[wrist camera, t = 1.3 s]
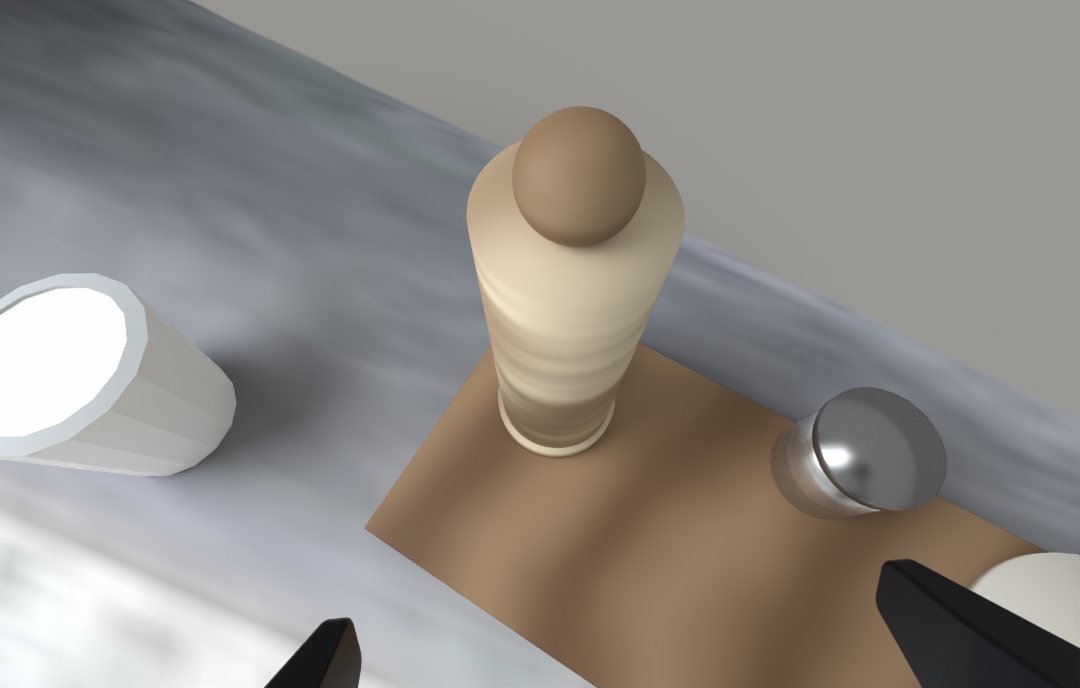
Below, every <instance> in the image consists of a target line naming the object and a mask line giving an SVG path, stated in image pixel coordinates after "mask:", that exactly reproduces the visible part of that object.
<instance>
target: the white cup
mask: <svg viewBox="0 0 1080 688" xmlns="http://www.w3.org/2000/svg"><path fill="white" fill-rule="evenodd" d="M236 405H237V402H236V396H235V391H234V386H233V383H232V381H231V380H230V379H229V378H228V377H227V375H226V374H225V373H224V372H223V371H222V369H221V368H220V367H219V366H217V365H216V364H215V363H214V362H213V361H212V360H211V359H210V358H208V357H207V356H206V355H205V354H204V353H203V352H202V351H200V350H199V349H198V348H197V347H196V346H195V345H194V344H193V343H191V342H190V341H189V340H188V339H187V338H186V337H185V336H183V335H182V334H181V333H180V332H179V331H178V330H177V329H176V328H174V327H173V326H172V325H171V324H170V323H169V322H168V321H167V320H165V319H164V318H163V317H162V316H161V315H160V314H159V313H157V312H156V311H155V310H154V309H153V308H152V307H151V306H150V305H148V304H147V303H146V302H145V301H144V300H143V299H142V298H140V297H139V296H138V295H137V294H136V293H135V292H134V291H133V290H131V289H130V288H129V287H128V286H127V285H125V284H123V283H120V282H118V281H115V280H112V279H110V278H107V277H105V276H102V275H100V274H97V273H87V274H58V275H55V276H52V277H49V278H46V279H42V280H39V281H36V282H33V283H30V284H26V285H23V286H20V287H19V288H17V289H16V290H14V291H12V292H11V293H9V294H8V295H6V296H4V297H3V298H1V299H0V459H1V460H10V461H18V462H27V463H35V464H44V465H52V466H61V467H69V468H77V469H86V470H94V471H103V472H111V473H120V474H128V475H137V476H170V475H173V474H176V473H178V472H181V471H183V470H186V469H188V468H191V467H194V466H195V465H197V464H198V463H199V462H200V461H202V460H203V459H204V458H205V457H207V456H208V455H209V454H210V453H212V452H213V451H214V450H215V449H216V448H217V447H218V446H219V444H220V443H221V441H222V440H223V438H224V437H225V435H226V434H227V432H228V431H229V429H230V427H231V425H232V421H233V417H234V413H235V409H236Z"/></svg>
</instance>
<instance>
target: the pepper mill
mask: <svg viewBox="0 0 1080 688" xmlns="http://www.w3.org/2000/svg"><path fill="white" fill-rule="evenodd" d="M467 224H468V231H469V236H470V241H471V246H472V251H473V256H474V261H475V266H476V271H477V276H478V281H479V286H480V291H481V296H482V301H483V306H484V311H485V316H486V321H487V326H488V331H489V336H490V341H491V346H492V351H493V356H494V361H495V366H496V371H497V376H498V381H499V389H498V404H499V410H500V414H501V418H502V421H503V423H504V426H505V428H506V430H507V431H508V433H509V434H510V436H511V437H512V438H513V439H514V440H515V441H516V442H517V443H518V444H519V445H520V446H521V447H523V448H524V449H526V450H527V451H529V452H531V453H533V454H536V455H539V456H542V457H547V458H566V457H571V456H574V455H577V454H580V453H582V452H584V451H586V450H587V449H589V448H590V447H592V446H593V445H594V444H595V443H596V442H597V441H598V440H599V439H600V438H601V437H602V435H603V434H604V432H605V430H606V428H607V426H608V424H609V422H610V420H611V418H612V415H613V412H614V407H615V396H616V394H617V391H618V389H619V387H620V384H621V382H622V380H623V377H624V375H625V373H626V370H627V368H628V366H629V363H630V361H631V359H632V356H633V354H634V352H635V349H636V347H637V345H638V342H639V340H640V338H641V335H642V333H643V331H644V328H645V326H646V324H647V321H648V319H649V317H650V314H651V312H652V310H653V307H654V305H655V303H656V300H657V298H658V296H659V293H660V291H661V289H662V286H663V284H664V282H665V279H666V277H667V275H668V272H669V270H670V268H671V265H672V263H673V261H674V258H675V256H676V254H677V251H678V249H679V246H680V243H681V240H682V237H683V231H684V209H683V204H682V200H681V197H680V194H679V192H678V190H677V188H676V186H675V184H674V182H673V180H672V179H671V178H670V176H669V175H668V173H667V172H666V171H665V170H664V169H663V167H662V166H661V165H660V164H659V163H658V162H657V161H656V160H654V159H653V158H652V157H651V156H650V155H648V154H647V153H646V152H644V151H643V150H641V147H640V145H639V143H638V141H637V139H636V138H635V136H634V135H633V133H632V132H631V131H630V129H629V128H628V127H627V126H626V125H625V124H624V123H623V122H622V121H620V120H619V119H618V118H617V117H615V116H613V115H612V114H610V113H608V112H605V111H603V110H600V109H596V108H591V107H570V108H565V109H561V110H558V111H556V112H554V113H551V114H550V115H548V116H546V117H545V118H543V119H542V120H540V121H539V122H538V123H537V124H536V125H535V126H534V127H533V128H532V129H531V130H530V131H529V132H528V133H527V135H526V136H525V137H524V139H523V140H521V141H519V142H517V143H515V144H513V145H511V146H510V147H508V148H506V149H504V150H503V151H502V152H501V153H499V154H498V155H497V156H495V157H494V158H493V159H492V160H491V161H490V162H489V163H488V164H487V165H486V166H485V167H484V169H483V170H482V171H481V173H480V174H479V176H478V177H477V179H476V181H475V183H474V184H473V187H472V190H471V192H470V195H469V200H468V204H467Z"/></svg>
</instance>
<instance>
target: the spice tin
mask: <svg viewBox="0 0 1080 688" xmlns="http://www.w3.org/2000/svg"><path fill="white" fill-rule="evenodd" d="M770 465H771V471H772V475H773V478H774V481H775V483H776V485H777V487H778V489H779V490H780V492H781V493H782V495H783V496H784V497H785V498H786V499H787V500H788V501H789V502H790V503H791V504H792V505H793V506H794V507H795V508H797V509H798V510H800V511H801V512H803V513H805V514H807V515H810V516H812V517H815V518H819V519H826V520H834V519H840V518H846V517H851V516H856V515H861V514H866V513H872V512H877V511H899V510H904V509H910V508H914V507H917V506H921V505H922V504H924V503H926V502H928V501H929V500H930V499H932V498H933V497H934V496H935V495H936V494H937V493H938V491H939V490H940V488H941V486H942V484H943V481H944V479H945V474H946V455H945V450H944V447H943V444H942V441H941V439H940V437H939V435H938V432H937V431H936V429H935V428H934V426H933V425H932V423H931V422H930V421H929V419H928V418H927V417H926V416H925V415H924V414H923V413H922V412H921V411H920V410H919V409H918V408H917V407H915V406H914V405H913V404H911V403H910V402H909V401H907V400H906V399H904V398H902V397H900V396H898V395H896V394H894V393H891V392H888V391H885V390H882V389H877V388H855V389H851V390H847V391H845V392H843V393H841V394H839V395H837V396H836V397H834V398H832V399H831V400H830V401H828V402H827V403H826V404H825V405H824V406H823V407H822V408H821V409H820V410H818V411H816V412H815V413H813V414H811V415H810V416H808V417H806V418H805V419H803V420H801V421H799V422H798V423H796V424H794V425H793V426H791V427H789V428H788V429H786V430H785V431H783V432H782V433H781V434H780V435H779V436H778V438H777V439H776V441H775V443H774V445H773V447H772V450H771V456H770Z"/></svg>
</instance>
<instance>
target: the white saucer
mask: <svg viewBox="0 0 1080 688" xmlns="http://www.w3.org/2000/svg"><path fill="white" fill-rule="evenodd" d="M967 589H969V590H971V591H973V592H975V593H977V594H979V595H981V596H983V597H984V598H986V599H988V600H990V601H992V602H994V603H996V604H998V605H1000V606H1001V607H1003V608H1005V609H1007V610H1009V611H1011V612H1013V613H1015V614H1017V615H1018V616H1020V617H1022V618H1024V619H1026V620H1028V621H1030V622H1032V623H1034V624H1036V625H1037V626H1039V627H1041V628H1043V629H1045V630H1047V631H1049V632H1051V633H1053V634H1054V635H1056V636H1058V637H1060V638H1062V639H1064V640H1066V641H1068V642H1070V643H1071V644H1073V645H1075V646H1077V647H1079V648H1080V555H1077V554H1069V553H1031V554H1024V555H1019V556H1013V557H1011V558H1008V559H1005V560H1002V561H1000V562H998V563H996V564H994V565H993V566H991V567H989V568H987V569H986V570H985V571H984V572H983V573H981V574H980V575H979V576H978V577H977V578H976V579H975V580H974V581H973V582H972V583H971V585H970V586H969V587H968V588H967Z"/></svg>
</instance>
